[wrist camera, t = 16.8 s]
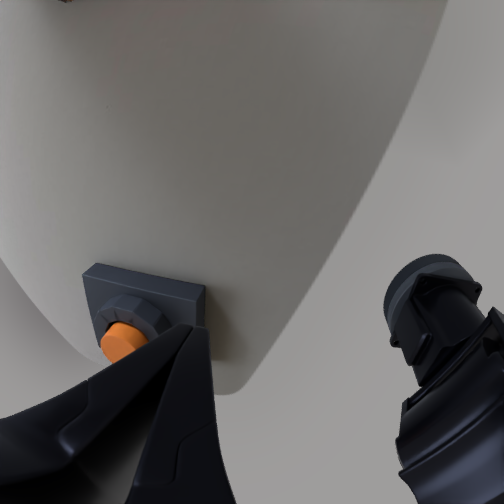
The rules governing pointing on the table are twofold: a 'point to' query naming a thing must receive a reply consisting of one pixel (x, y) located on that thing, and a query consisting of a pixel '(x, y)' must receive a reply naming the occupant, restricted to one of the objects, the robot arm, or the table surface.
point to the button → (122, 341)
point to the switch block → (140, 301)
